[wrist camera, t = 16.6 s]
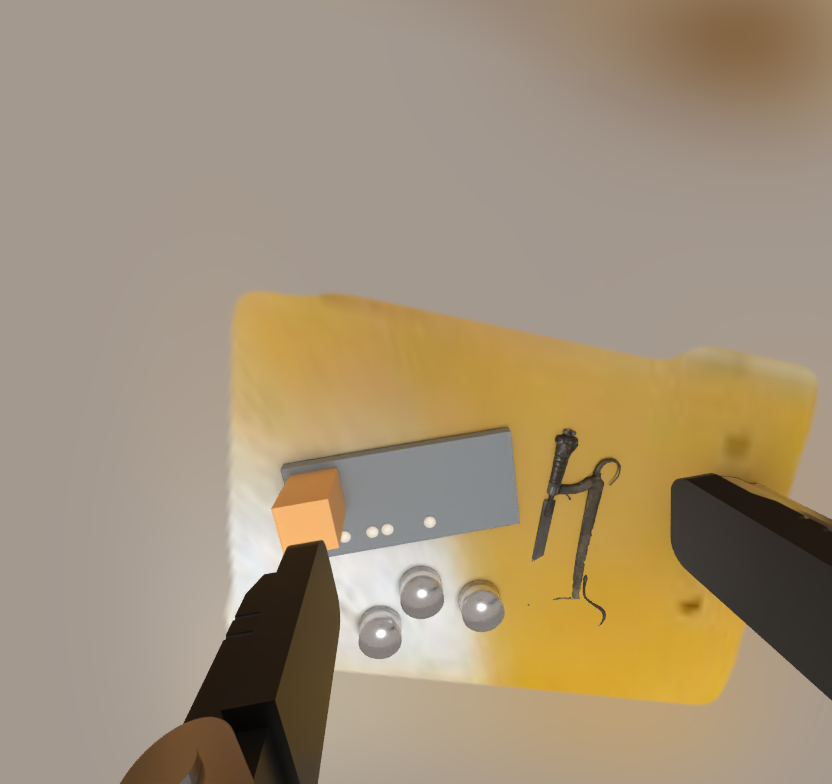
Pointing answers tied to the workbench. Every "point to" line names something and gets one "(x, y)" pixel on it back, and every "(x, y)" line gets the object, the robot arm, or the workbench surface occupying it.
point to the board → (422, 489)
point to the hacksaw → (595, 486)
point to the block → (310, 509)
